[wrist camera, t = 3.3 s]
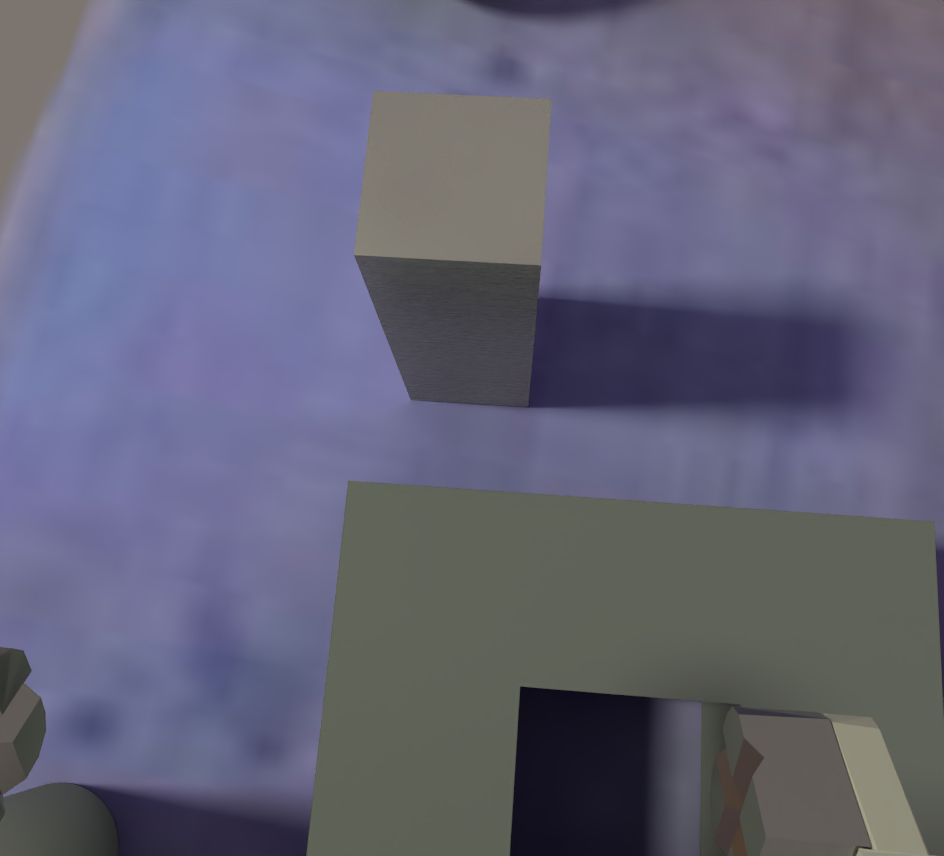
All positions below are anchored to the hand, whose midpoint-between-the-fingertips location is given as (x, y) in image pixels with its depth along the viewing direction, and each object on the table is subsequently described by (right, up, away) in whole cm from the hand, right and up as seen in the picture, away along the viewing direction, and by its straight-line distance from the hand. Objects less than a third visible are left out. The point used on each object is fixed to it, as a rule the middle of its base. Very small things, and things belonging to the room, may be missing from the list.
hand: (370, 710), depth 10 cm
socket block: (+5, -6, +13) cm, 15 cm away
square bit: (+1, +6, +16) cm, 17 cm away
